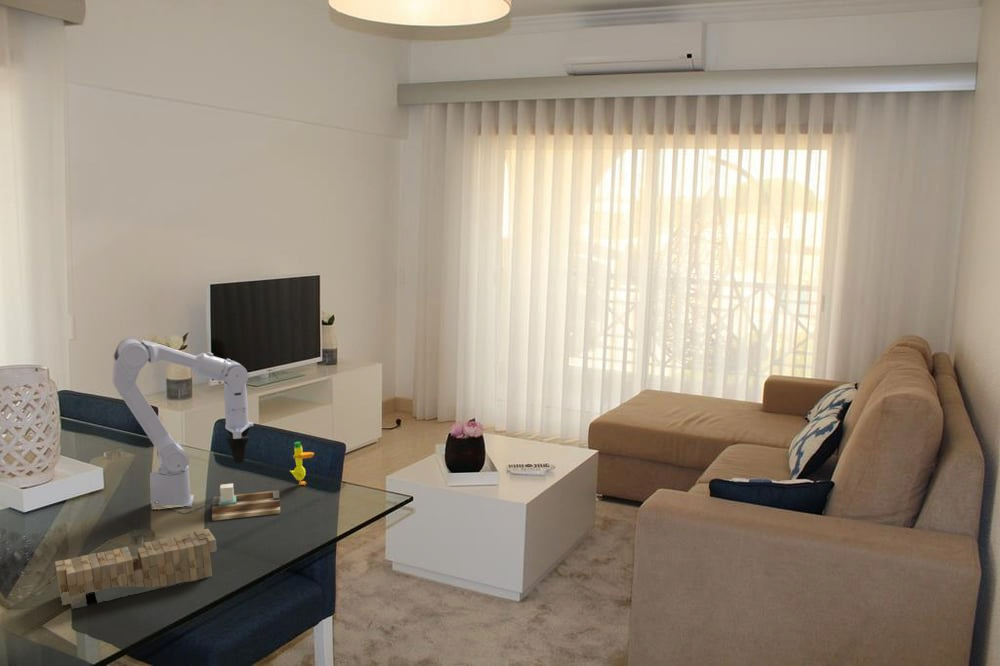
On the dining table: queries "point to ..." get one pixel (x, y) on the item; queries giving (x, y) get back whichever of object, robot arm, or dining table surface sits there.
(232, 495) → the slider
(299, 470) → the toy figure
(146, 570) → the block tower
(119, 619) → the dining table surface
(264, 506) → the track
